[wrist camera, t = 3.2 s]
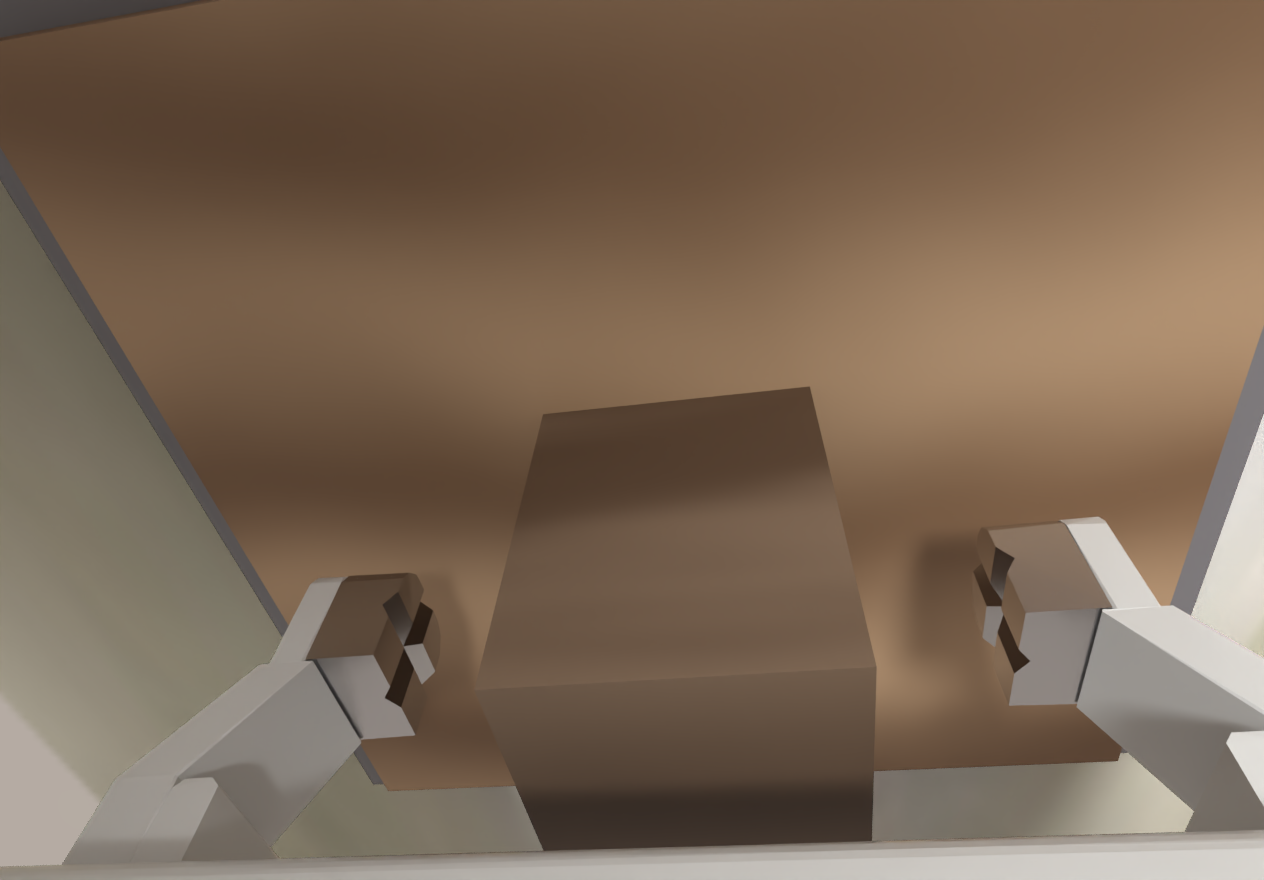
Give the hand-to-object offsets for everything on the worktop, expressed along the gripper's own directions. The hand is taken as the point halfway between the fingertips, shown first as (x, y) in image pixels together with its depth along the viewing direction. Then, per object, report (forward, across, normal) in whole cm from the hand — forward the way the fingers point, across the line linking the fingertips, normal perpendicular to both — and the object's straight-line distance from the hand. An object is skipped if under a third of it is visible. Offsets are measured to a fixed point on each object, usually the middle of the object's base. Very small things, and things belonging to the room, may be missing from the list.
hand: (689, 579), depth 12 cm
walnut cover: (+2, 0, 0) cm, 2 cm away
